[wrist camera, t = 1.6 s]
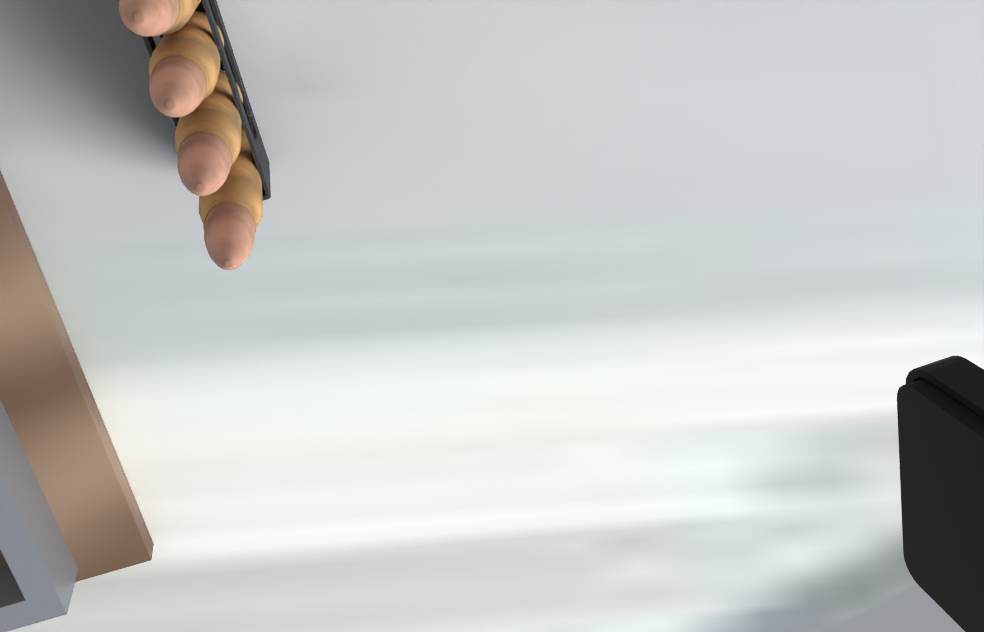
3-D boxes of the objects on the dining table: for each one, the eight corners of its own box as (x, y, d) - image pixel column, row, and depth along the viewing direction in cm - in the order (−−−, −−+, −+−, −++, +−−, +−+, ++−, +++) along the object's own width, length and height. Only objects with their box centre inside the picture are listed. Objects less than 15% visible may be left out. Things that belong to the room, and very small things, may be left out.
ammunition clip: (91, -171, 27) (-10, -230, 16) (155, -185, 27) (97, -253, 17) (215, 180, 32) (200, 315, 21) (270, 165, 32) (282, 290, 21)
